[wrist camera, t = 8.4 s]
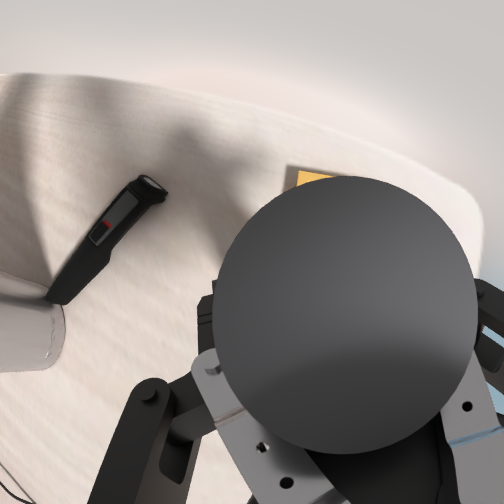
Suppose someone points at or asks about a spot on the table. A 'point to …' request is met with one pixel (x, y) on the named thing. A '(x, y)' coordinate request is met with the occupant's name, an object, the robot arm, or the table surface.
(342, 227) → the dark grey banded cylinder
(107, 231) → the electric trimmer
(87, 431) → the table surface
